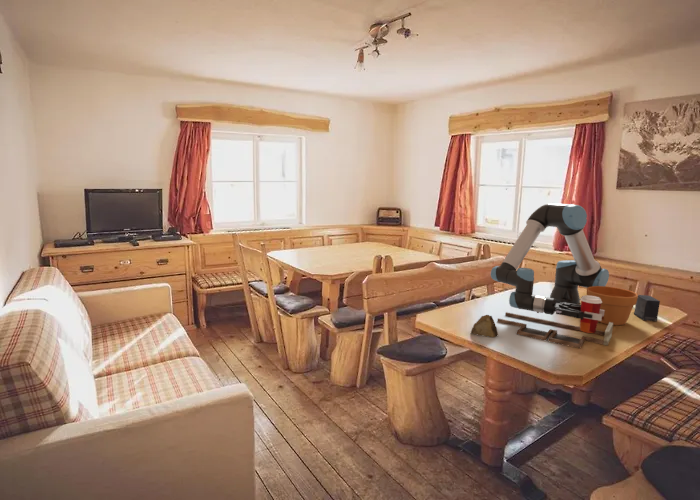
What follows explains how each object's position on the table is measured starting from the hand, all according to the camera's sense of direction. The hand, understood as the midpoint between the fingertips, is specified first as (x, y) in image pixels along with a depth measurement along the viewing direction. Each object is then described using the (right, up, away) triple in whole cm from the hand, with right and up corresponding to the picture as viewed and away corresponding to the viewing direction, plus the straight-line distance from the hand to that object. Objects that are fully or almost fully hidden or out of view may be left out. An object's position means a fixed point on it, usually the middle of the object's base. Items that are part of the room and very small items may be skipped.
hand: (602, 315), depth 180 cm
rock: (-49, -9, +5) cm, 50 cm away
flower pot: (+18, -7, +26) cm, 32 cm away
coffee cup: (-4, -8, +4) cm, 10 cm away
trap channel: (-19, -9, +9) cm, 22 cm away
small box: (+39, -6, +30) cm, 50 cm away
